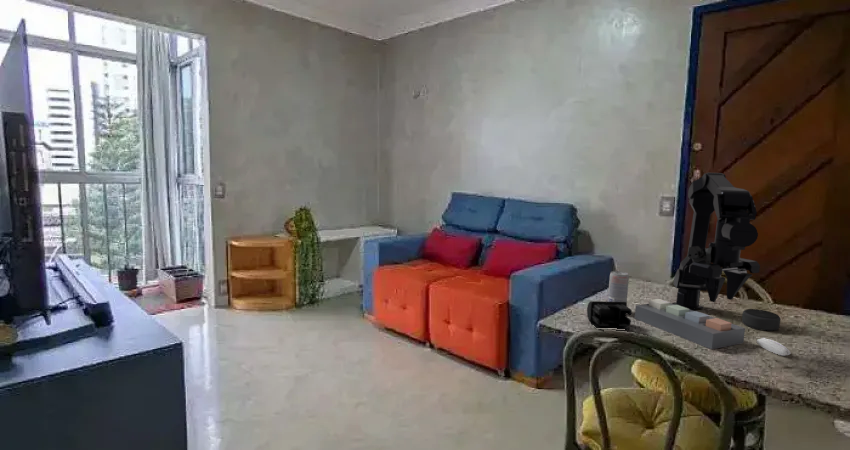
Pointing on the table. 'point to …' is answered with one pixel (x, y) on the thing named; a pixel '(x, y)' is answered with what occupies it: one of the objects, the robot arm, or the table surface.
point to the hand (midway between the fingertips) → (721, 300)
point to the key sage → (677, 310)
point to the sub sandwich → (773, 346)
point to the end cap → (609, 314)
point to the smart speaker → (761, 319)
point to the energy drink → (618, 286)
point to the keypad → (689, 328)
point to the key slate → (696, 317)
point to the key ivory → (659, 303)
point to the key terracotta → (718, 324)
